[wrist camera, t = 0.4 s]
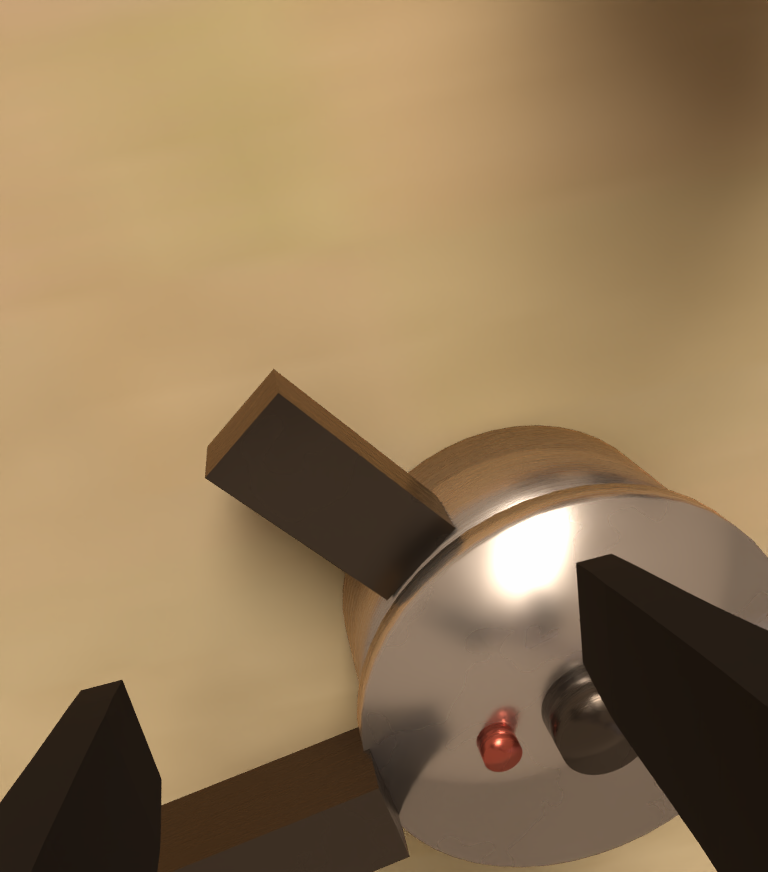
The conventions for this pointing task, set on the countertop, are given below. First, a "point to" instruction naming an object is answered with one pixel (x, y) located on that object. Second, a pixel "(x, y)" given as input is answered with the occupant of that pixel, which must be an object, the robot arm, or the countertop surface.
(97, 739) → the robot arm
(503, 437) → the pot
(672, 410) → the countertop surface
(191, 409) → the countertop surface
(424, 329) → the countertop surface
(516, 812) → the lid
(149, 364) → the countertop surface
